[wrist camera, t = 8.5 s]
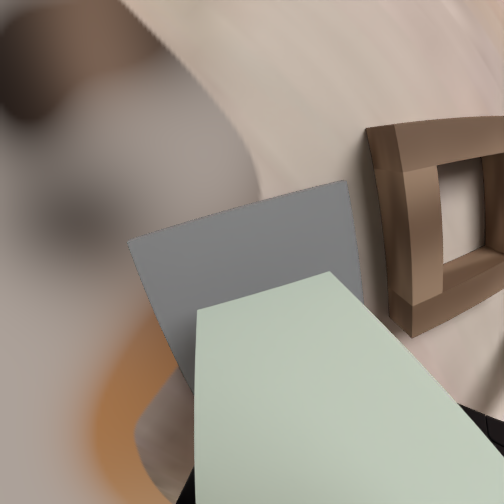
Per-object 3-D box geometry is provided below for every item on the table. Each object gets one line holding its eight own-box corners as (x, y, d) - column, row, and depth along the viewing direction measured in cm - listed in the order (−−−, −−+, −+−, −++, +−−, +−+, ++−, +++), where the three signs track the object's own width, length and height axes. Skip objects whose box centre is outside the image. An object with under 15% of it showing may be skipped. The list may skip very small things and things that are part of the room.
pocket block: (499, 263, 17) (523, 275, 15) (389, 316, 16) (411, 338, 14) (492, 116, 14) (520, 116, 11) (365, 128, 13) (394, 124, 11)
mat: (363, 351, 17) (367, 355, 16) (199, 401, 16) (199, 406, 16) (342, 180, 14) (346, 181, 13) (129, 239, 13) (126, 242, 13)
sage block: (343, 370, 13) (465, 578, 2) (235, 403, 13) (282, 645, 2) (329, 271, 11) (558, 529, 1) (197, 309, 11) (213, 671, 1)
